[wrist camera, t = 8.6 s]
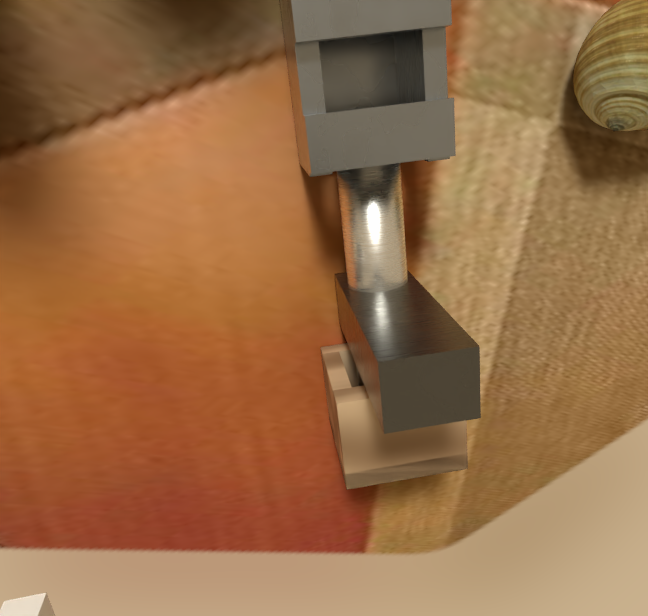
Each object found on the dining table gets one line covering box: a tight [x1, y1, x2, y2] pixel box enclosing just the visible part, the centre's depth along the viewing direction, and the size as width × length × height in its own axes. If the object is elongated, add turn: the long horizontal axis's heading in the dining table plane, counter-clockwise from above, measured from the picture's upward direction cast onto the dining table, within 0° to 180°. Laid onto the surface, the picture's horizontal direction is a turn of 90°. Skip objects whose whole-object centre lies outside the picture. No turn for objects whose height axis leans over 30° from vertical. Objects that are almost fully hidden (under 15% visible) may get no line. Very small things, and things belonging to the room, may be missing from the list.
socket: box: [321, 343, 468, 489], centre depth 33 cm, size 5×7×7 cm
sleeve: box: [279, 0, 456, 177], centre depth 26 cm, size 9×6×7 cm
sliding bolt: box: [335, 163, 481, 434], centre depth 27 cm, size 16×4×12 cm, turn 6°
